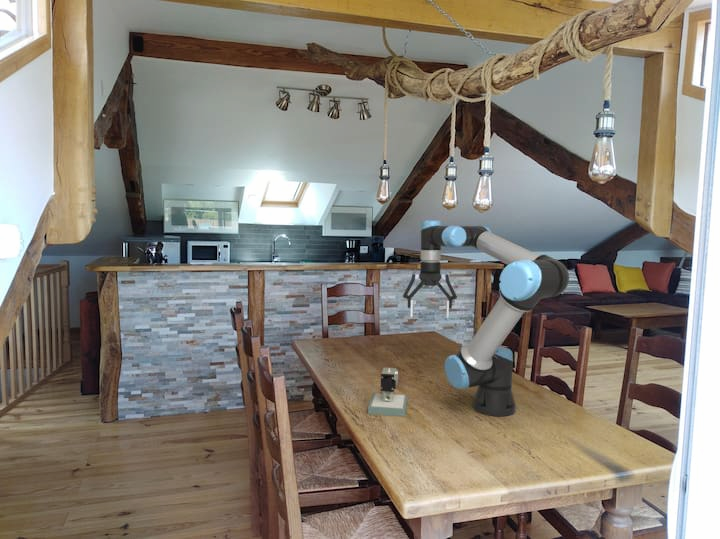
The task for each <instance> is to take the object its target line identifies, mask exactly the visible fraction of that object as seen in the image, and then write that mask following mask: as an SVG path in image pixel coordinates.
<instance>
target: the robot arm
mask: <svg viewBox="0 0 720 539" xmlns="http://www.w3.org/2000/svg"><path fill="white" fill-rule="evenodd" d="M420 228H421V229H420V267H419V268H420V270H419V272H420V273H419V274H417V273H412V275H411V279H410V281H409V283H408V285H407V287H406V289H405V291H404V293H403V294H402V298H404V299H406V300H407V308H408V309H410V311H409V312H410V314H409V315H410V318H413V315H414V314H413V306H414V302H413V301H414V300H413V297H414V296H415V295H416V294H417V293H418V292H419V290H421V288H422V287H423V286H425V287H429V286H431V287H435V286H437V287H438V288H439V289H440V291H441V292H442V293H443V294H444V295H445V297H446V298H447V299H446V300H445V301H446V305H445V306H446V307H445V317H446V319H448V318H450V316H449V314H450V312H449V311H450V310H452V308H453V300H456V299H457V298H458V296H457V294H456V292H455V290H454V288H453V286H452V283H451V282H450V277H449V274H448V273H445V274H441V265H442V264H441V262H440V261H441V255H442V254H441V253H442V249H441V247H445V248H446V247H448V248H460V247H473V248H474V249H476V250H478V251H481V252H482V253H485V254H487V255H488V256H490V257H492V258H494V259H496V260H498V261H500V262H501V263H503V264H505V267H504V268H503V270H502V272H501V273H500V276H499V282H500V283H498V284H499V286H498V287H499V290H498V291H499V295H500V296H499V298H498V300H497V301H496V303H495V305H493V306H492V309H491V310H490V312H489V314H488V315H487V316H486V317H485V319H484V321H483V323H482V324H481V325H480V327H479V328H478V330H477V331H476V333H475V334H474V336H473V338H472V339H471V340H470V342H467V343H464V344H463V345H462V346H461V347H460V348H459V350H458V352H457V353H455V354H451V355H449V356H447V357H446V359H445V362H444V374H445V376H446V379H447V381H448V382H449V383H450V385H452V386H451V387H454V388H455V389H458V390H461V389H464V390H465V389H469V388H473V387H477V389H476V392H475V394H474V396H473V399H472V409H473V410H474V411H476V412H478V413H481V414H483V415H487V416H493V417H508V416H512V415H514V414H515V413H516V406H517V405H516V402H515V398H514V394H513V391H512V383H513V382H512V381H513V367H514V366H513V364H514V354H513V351H512V350H511V349H510V348H508V347H505V346H502V344H503V343H504V341H505V340H506V338H507V337H508V335H509V334H510V333H511V331H512V330H513V329H514V328H515V326H516V324H517V323H518V322H519V321H520V319H521V318H522V316H523V315H524V313H527V312H532V310H534V308H535V307H536V305H537V304H538V302H540V300H542V299H546V298H555V297H557V296H559V295H561V294H562V293H563V292H565V290H566V289H567V288H568V285H569V282H570V273H569V270H568V268H567V266H565V264H564V263H562V262H561V261H559V260H558V259H556V258H553V257H551V256H549V255H547V254H537V253H536V252H532V251H531V250H529V249H526V248H525V247H522V246H520V245H518V244H516V243H513V242H511V241H509V240H507V239H505V238H503V237H501V236H499V235H497V234H494V233H493V232H492V231H491V229H490V228H489V227H488V226H484V225H483V226H482V225H442V220H432V219H431V220H426V219H425V220H423V221H422V222H421V226H420ZM418 278H419V280H420V282H419V284H417V285H416V287H415V288H414V289H413V290H412V291H411V289H412V287H413V285H414V283H415V282H416V280H418ZM441 279H442V280H444V281H445V283H446V285H447V287H448V289H449V292H450V293H451V295H450V294H449V293H448V292H447V290H446V288H444V286H442V284H441V283H440V281H441ZM410 291H411V292H410ZM409 292H410V294H409ZM408 294H409V295H408Z"/></svg>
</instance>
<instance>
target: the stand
mask: <svg viewBox="0 0 720 539" xmlns="http://www.w3.org/2000/svg"><path fill="white" fill-rule="evenodd" d="M393 397H394V398H393V401H392V402H390V401H383V399H384V394H383V393H381V392H380V393H379V392H373V393H372V395H371V398H370V401H369V404H368V407H367V414H368V415H376V416H390V417H404V418H405V417H406V413H407V406H408V397H409V396H408V394H399V393H398V394H396V393H393Z"/></svg>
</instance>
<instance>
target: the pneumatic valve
mask: <svg viewBox="0 0 720 539" xmlns="http://www.w3.org/2000/svg"><path fill="white" fill-rule="evenodd" d="M398 383H399V371H398V369H397V367H390V366H389V367H388V366H383V369H382V371H381V374H380V392H383V394H384V399H383V401H390V402H392V401H393V398H394V397H393V394H394V392H395V390H396V389H397V385H398Z"/></svg>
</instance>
